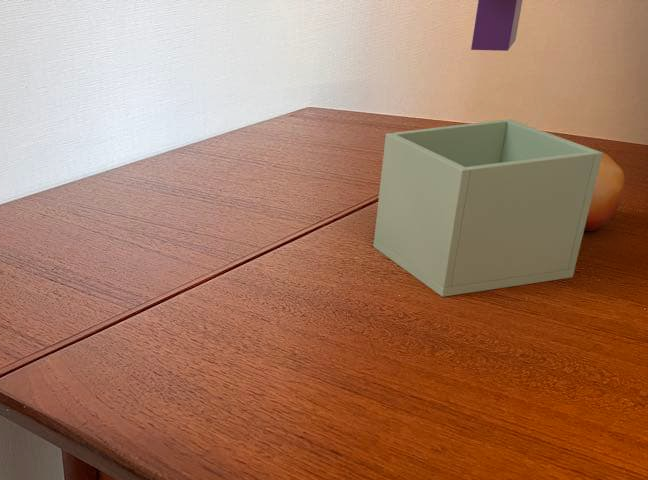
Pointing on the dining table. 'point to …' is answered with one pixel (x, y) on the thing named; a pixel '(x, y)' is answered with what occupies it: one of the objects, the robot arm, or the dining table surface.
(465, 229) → the bin
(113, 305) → the dining table surface
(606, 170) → the fruit
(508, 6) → the purple rectangular block
